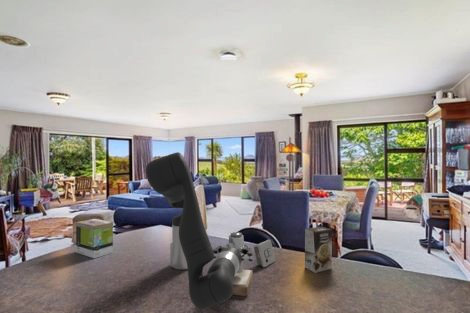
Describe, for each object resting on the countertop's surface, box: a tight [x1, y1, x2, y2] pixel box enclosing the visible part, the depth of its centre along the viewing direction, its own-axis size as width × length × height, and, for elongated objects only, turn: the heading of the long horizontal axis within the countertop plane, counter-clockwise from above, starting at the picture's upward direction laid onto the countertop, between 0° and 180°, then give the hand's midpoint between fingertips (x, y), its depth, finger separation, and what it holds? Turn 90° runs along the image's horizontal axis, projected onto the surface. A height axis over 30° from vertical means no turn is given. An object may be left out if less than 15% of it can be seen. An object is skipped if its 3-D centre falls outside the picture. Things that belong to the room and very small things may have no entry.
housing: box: [228, 231, 245, 273], centre depth 97 cm, size 5×5×13 cm
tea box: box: [75, 218, 114, 259], centre depth 130 cm, size 15×10×15 cm, turn 58°
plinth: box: [232, 269, 254, 297], centre depth 97 cm, size 10×13×3 cm
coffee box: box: [304, 226, 333, 274], centre depth 112 cm, size 9×6×16 cm
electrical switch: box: [253, 239, 276, 268], centre depth 117 cm, size 9×5×9 cm, turn 141°
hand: (237, 246), depth 99 cm, fingers closed on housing, 5 cm apart
